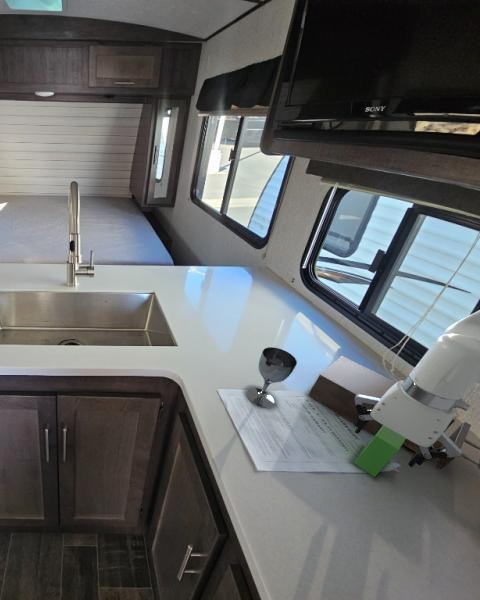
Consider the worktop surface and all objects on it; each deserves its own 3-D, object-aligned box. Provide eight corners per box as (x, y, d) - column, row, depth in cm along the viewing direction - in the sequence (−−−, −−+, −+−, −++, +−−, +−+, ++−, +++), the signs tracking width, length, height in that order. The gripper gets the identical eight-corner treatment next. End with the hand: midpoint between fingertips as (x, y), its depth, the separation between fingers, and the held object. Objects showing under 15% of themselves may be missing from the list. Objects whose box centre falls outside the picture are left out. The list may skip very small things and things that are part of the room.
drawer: (483, 456, 76) (502, 440, 73) (471, 488, 69) (492, 472, 66) (382, 402, 89) (395, 386, 86) (365, 425, 83) (377, 408, 79)
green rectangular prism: (384, 460, 75) (409, 433, 70) (374, 477, 72) (399, 449, 66) (364, 447, 78) (386, 420, 73) (353, 463, 74) (375, 435, 69)
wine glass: (267, 413, 86) (288, 372, 78) (239, 394, 91) (256, 354, 83) (281, 400, 90) (302, 359, 82) (254, 383, 95) (271, 343, 88)
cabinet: (392, 409, 89) (408, 388, 84) (373, 434, 81) (390, 413, 77) (329, 375, 99) (341, 355, 95) (307, 395, 92) (319, 374, 88)
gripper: (497, 413, 59) (440, 468, 68) (382, 359, 71) (346, 412, 80) (490, 433, 55) (430, 488, 64) (369, 373, 67) (333, 426, 76)
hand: (383, 445), depth 72 cm, fingers open, 9 cm apart
